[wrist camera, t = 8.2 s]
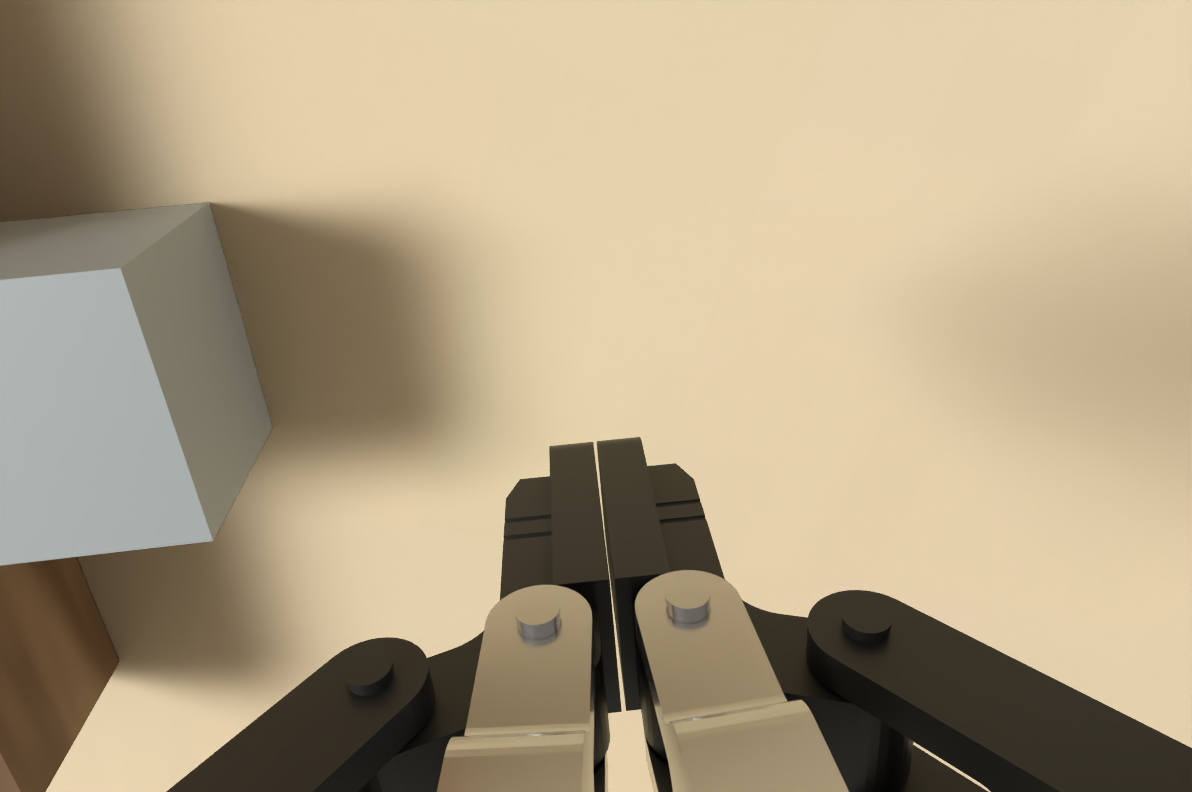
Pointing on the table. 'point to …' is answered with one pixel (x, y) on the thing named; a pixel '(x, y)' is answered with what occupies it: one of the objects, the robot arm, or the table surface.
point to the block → (121, 384)
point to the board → (47, 668)
